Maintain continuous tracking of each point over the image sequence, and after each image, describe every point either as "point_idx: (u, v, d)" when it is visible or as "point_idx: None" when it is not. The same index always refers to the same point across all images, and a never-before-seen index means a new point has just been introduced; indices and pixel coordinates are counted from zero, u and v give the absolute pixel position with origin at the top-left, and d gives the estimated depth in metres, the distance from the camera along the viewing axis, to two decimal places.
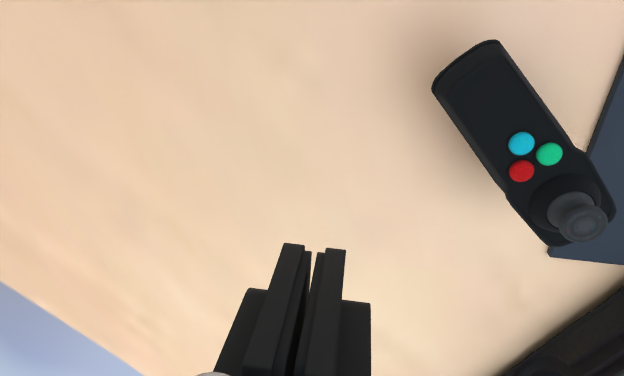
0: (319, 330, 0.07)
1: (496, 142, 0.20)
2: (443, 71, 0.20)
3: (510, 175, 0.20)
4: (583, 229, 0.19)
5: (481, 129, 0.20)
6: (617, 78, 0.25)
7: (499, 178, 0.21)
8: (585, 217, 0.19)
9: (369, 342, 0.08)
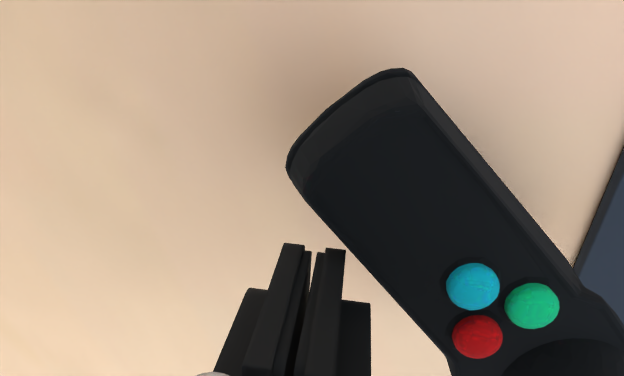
0: (319, 330, 0.07)
1: (420, 281, 0.09)
2: (303, 134, 0.09)
3: (455, 345, 0.10)
4: None
5: (387, 257, 0.09)
6: None
7: (435, 344, 0.10)
8: None
9: (369, 342, 0.08)
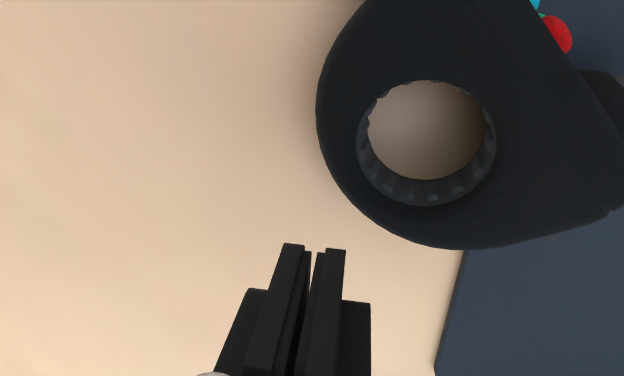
0: (319, 330, 0.07)
1: None
2: None
3: (557, 29, 0.10)
4: None
5: None
6: None
7: (547, 46, 0.10)
8: None
9: (369, 342, 0.08)
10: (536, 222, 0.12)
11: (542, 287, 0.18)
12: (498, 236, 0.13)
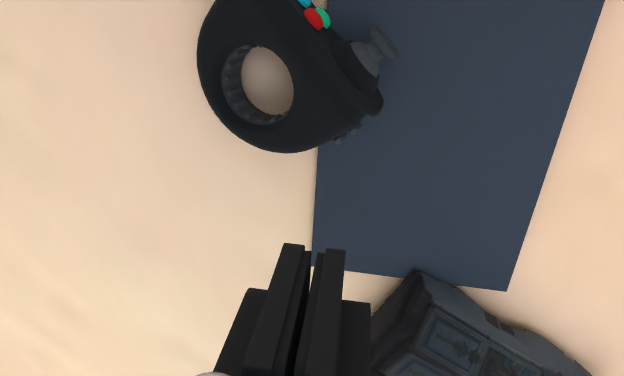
0: (319, 330, 0.07)
1: None
2: None
3: (309, 15, 0.19)
4: (388, 43, 0.19)
5: None
6: None
7: (300, 23, 0.19)
8: (382, 33, 0.20)
9: (369, 342, 0.08)
10: (318, 129, 0.21)
11: (368, 193, 0.26)
12: (302, 140, 0.21)
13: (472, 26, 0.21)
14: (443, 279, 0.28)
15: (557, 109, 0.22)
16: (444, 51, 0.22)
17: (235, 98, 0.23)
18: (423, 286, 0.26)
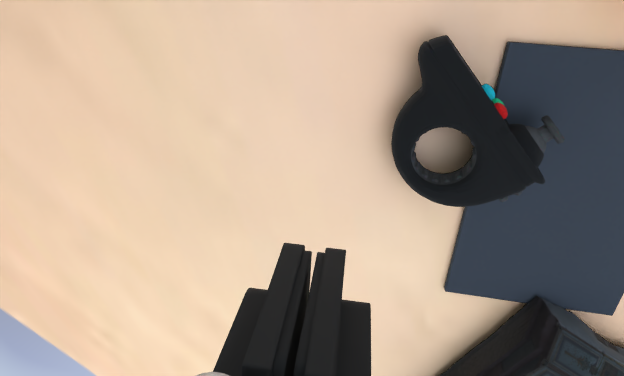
0: (319, 330, 0.07)
1: (480, 86, 0.25)
2: (424, 43, 0.25)
3: (500, 109, 0.25)
4: None
5: None
6: None
7: (495, 116, 0.25)
8: None
9: (369, 342, 0.08)
10: (494, 191, 0.27)
11: (505, 234, 0.32)
12: (477, 198, 0.27)
13: (612, 112, 0.27)
14: (559, 304, 0.34)
15: None
16: (587, 129, 0.28)
17: (414, 161, 0.29)
18: (549, 311, 0.32)
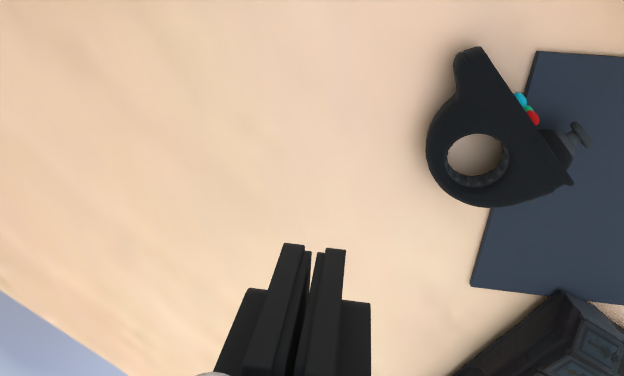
0: (319, 330, 0.07)
1: None
2: (461, 55, 0.27)
3: (533, 117, 0.26)
4: None
5: None
6: None
7: (529, 124, 0.26)
8: None
9: (369, 342, 0.08)
10: (525, 193, 0.28)
11: (530, 232, 0.34)
12: (509, 200, 0.29)
13: None
14: (579, 296, 0.36)
15: None
16: (610, 133, 0.29)
17: (446, 165, 0.31)
18: (572, 304, 0.34)
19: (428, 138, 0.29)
